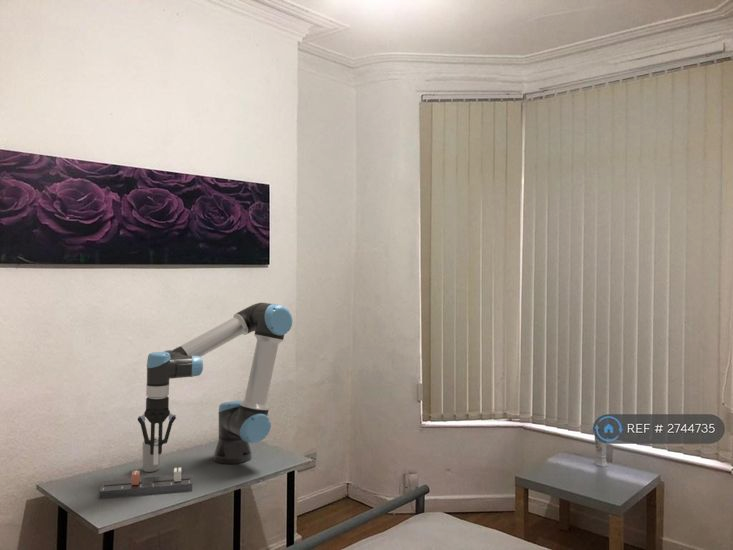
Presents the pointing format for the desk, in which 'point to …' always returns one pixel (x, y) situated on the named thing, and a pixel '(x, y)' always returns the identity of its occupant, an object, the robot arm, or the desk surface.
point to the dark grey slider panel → (145, 486)
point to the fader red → (135, 477)
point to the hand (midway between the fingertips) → (155, 463)
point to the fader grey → (177, 474)
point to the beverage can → (149, 458)
